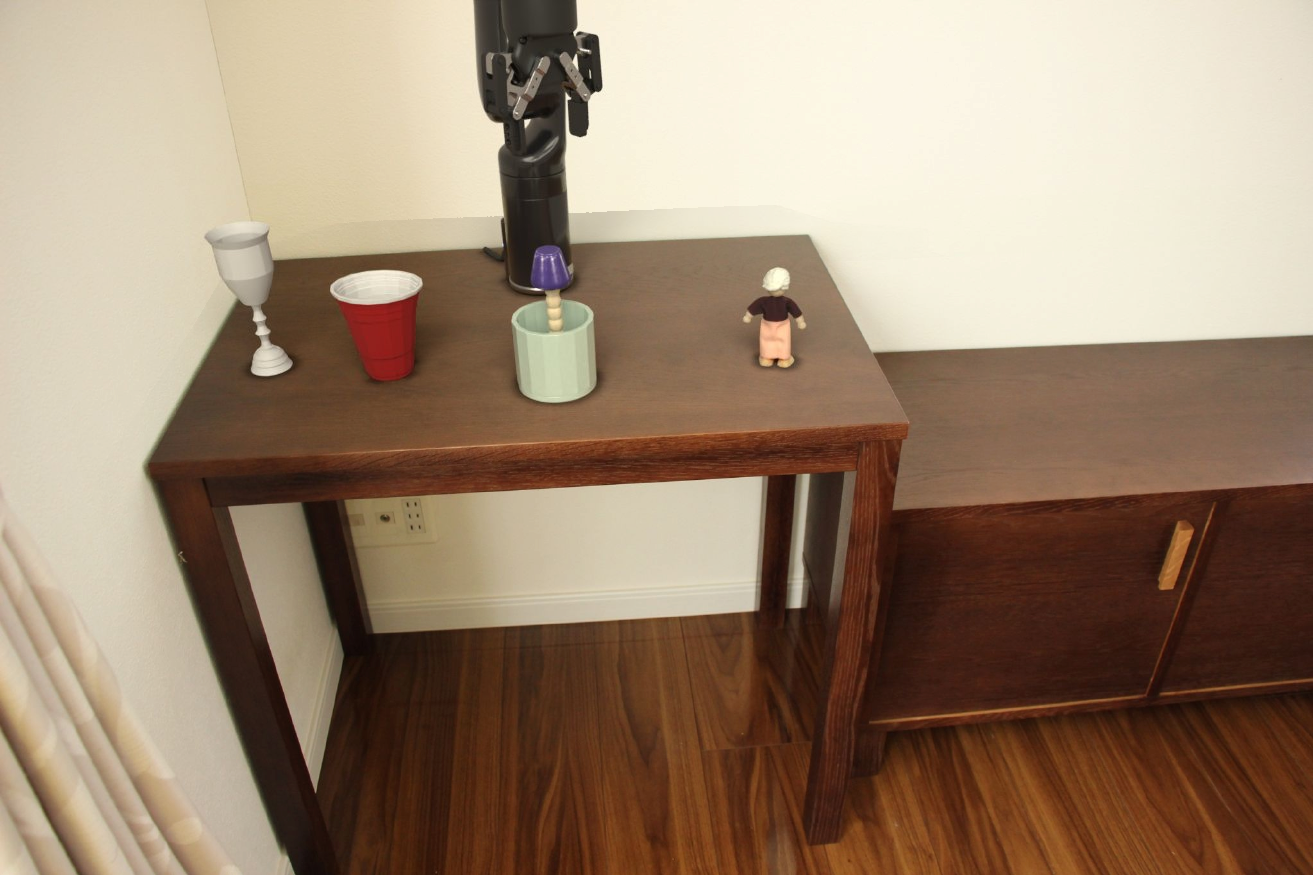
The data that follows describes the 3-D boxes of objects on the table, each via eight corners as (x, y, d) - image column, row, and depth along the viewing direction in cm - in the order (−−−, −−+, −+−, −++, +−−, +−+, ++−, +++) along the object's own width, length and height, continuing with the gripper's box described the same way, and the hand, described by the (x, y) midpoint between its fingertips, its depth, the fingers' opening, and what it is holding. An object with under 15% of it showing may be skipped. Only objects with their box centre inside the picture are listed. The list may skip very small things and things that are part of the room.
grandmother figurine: (800, 354, 127) (807, 262, 120) (803, 368, 124) (811, 275, 117) (740, 354, 127) (744, 262, 120) (742, 369, 124) (746, 275, 117)
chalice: (245, 384, 122) (207, 247, 112) (237, 361, 127) (200, 228, 117) (306, 370, 125) (274, 235, 115) (296, 348, 130) (264, 217, 120)
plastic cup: (451, 356, 127) (438, 269, 121) (406, 396, 119) (391, 306, 112) (378, 344, 130) (362, 259, 124) (330, 383, 122) (310, 294, 115)
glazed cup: (502, 383, 121) (495, 317, 116) (561, 356, 127) (556, 292, 122) (554, 411, 116) (548, 343, 111) (612, 381, 121) (610, 315, 116)
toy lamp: (571, 388, 119) (562, 258, 109) (534, 384, 119) (522, 255, 110) (581, 369, 122) (574, 242, 113) (545, 365, 123) (535, 239, 114)
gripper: (566, -32, 104) (574, 123, 113) (455, -15, 95) (474, 152, 104) (615, -25, 99) (620, 137, 108) (504, -6, 91) (519, 168, 100)
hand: (548, 144), depth 106 cm, fingers open, 8 cm apart
